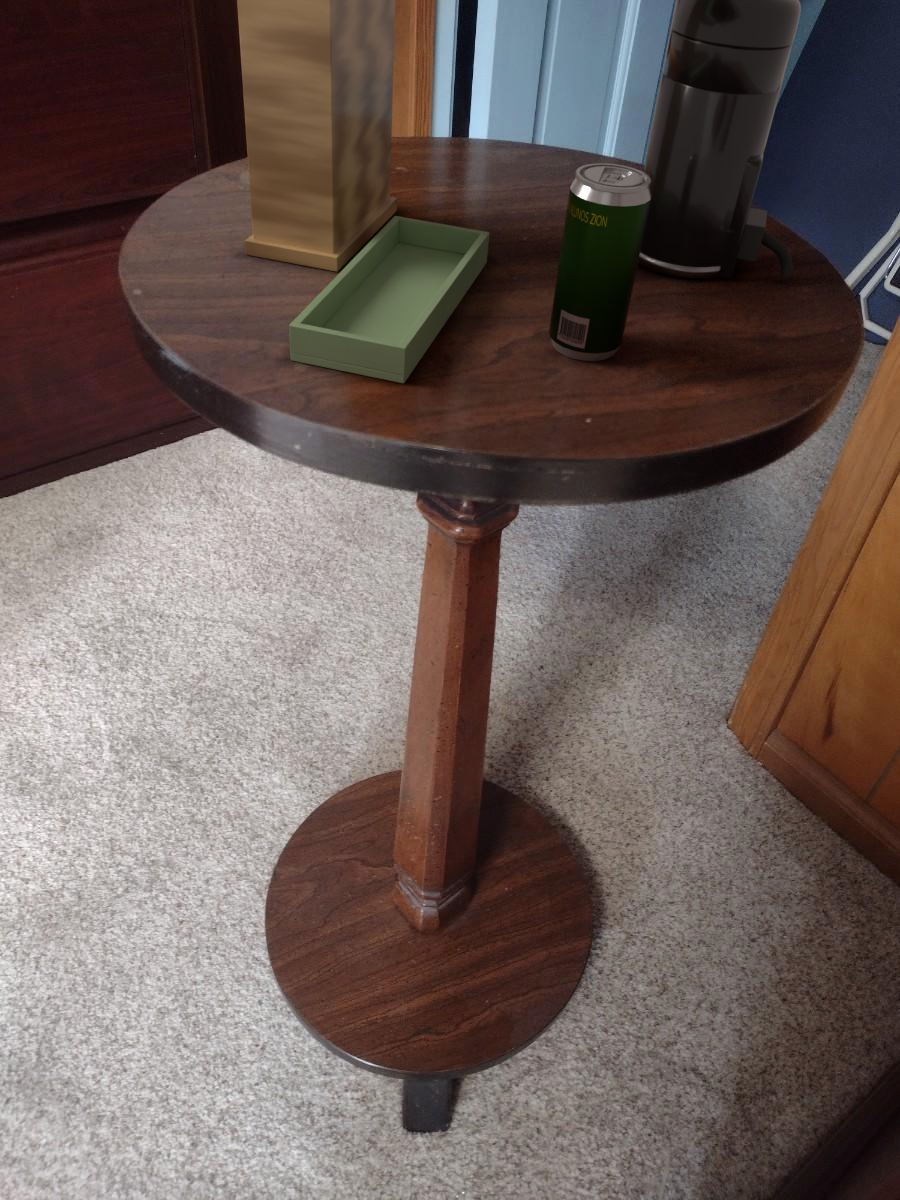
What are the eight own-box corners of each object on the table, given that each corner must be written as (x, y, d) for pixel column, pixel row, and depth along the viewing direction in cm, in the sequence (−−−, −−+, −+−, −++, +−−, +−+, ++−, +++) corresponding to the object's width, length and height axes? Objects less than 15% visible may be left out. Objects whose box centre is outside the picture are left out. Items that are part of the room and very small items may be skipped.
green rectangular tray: (394, 246, 83) (394, 215, 81) (486, 262, 81) (489, 232, 79) (290, 360, 66) (288, 325, 65) (404, 384, 65) (405, 348, 63)
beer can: (608, 370, 68) (642, 196, 60) (537, 351, 70) (561, 179, 62) (628, 339, 72) (663, 172, 64) (560, 322, 74) (586, 157, 66)
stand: (315, 196, 90) (305, -226, 70) (396, 211, 89) (410, -216, 69) (245, 254, 79) (210, -227, 59) (337, 272, 78) (332, -215, 58)
